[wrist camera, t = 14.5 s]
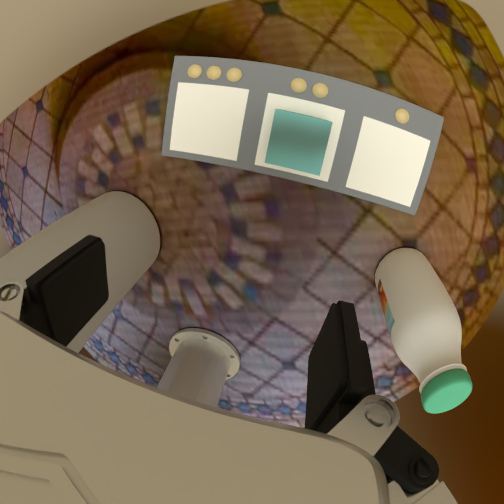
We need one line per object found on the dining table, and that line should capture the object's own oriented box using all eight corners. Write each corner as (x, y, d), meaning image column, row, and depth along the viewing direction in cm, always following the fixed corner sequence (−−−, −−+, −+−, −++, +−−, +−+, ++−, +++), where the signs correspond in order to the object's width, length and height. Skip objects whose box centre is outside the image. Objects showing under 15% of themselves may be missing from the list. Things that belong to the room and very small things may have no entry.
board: (411, 212, 30) (415, 216, 29) (166, 153, 33) (160, 155, 31) (439, 117, 24) (445, 117, 23) (179, 57, 27) (173, 55, 25)
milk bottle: (377, 245, 33) (424, 375, 16) (432, 245, 32) (504, 362, 14) (370, 296, 37) (394, 428, 19) (421, 295, 35) (466, 416, 18)
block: (317, 165, 29) (319, 176, 25) (271, 154, 29) (264, 162, 25) (328, 120, 27) (332, 122, 22) (280, 109, 27) (275, 108, 23)
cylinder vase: (148, 283, 42) (52, 411, 21) (86, 242, 41) (-24, 339, 20) (175, 217, 36) (39, 356, 15) (102, 174, 35) (-49, 261, 14)
